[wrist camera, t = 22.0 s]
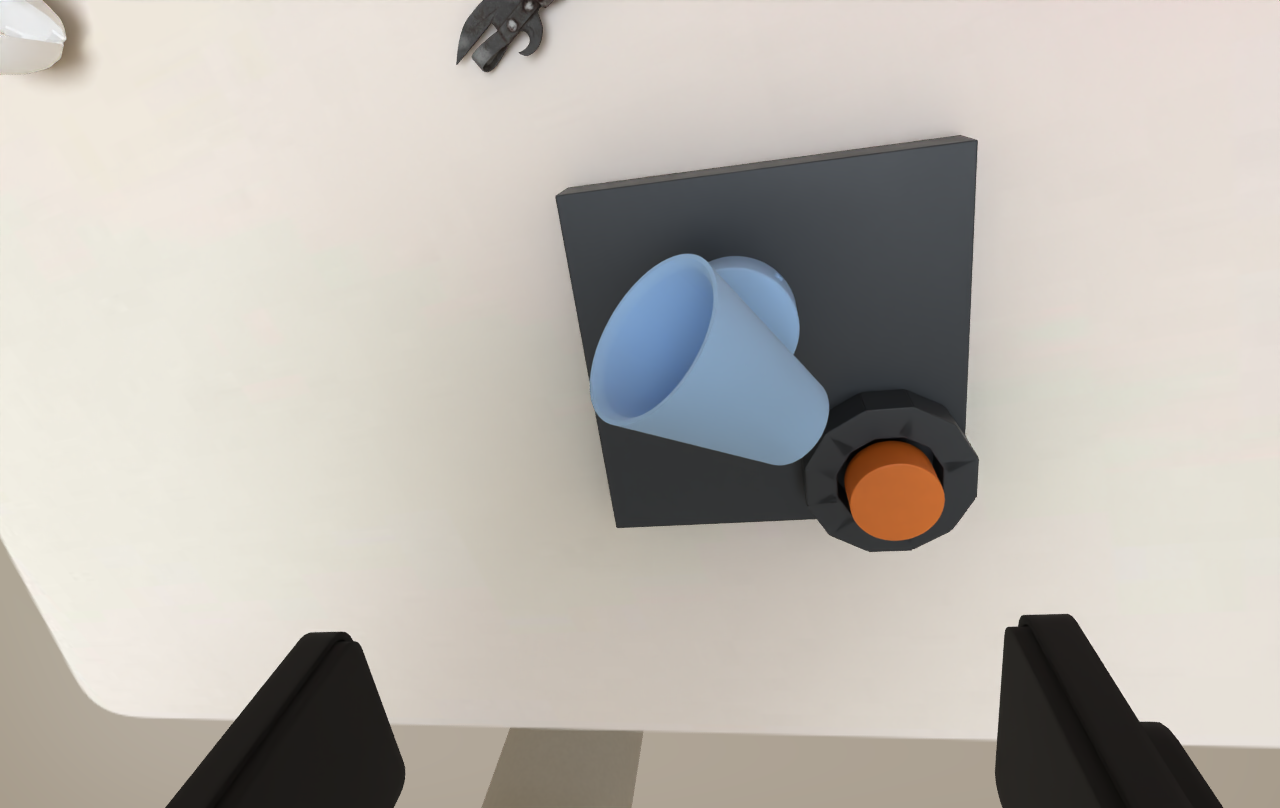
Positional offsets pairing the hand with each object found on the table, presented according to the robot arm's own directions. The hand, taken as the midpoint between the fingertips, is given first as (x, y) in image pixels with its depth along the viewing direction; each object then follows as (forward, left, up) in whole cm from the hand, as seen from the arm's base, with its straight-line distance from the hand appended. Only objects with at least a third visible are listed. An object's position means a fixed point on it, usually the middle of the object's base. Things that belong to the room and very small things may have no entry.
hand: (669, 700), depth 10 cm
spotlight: (0, 0, -18) cm, 18 cm away
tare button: (-6, -6, -17) cm, 19 cm away
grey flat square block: (-2, -2, -20) cm, 20 cm away
